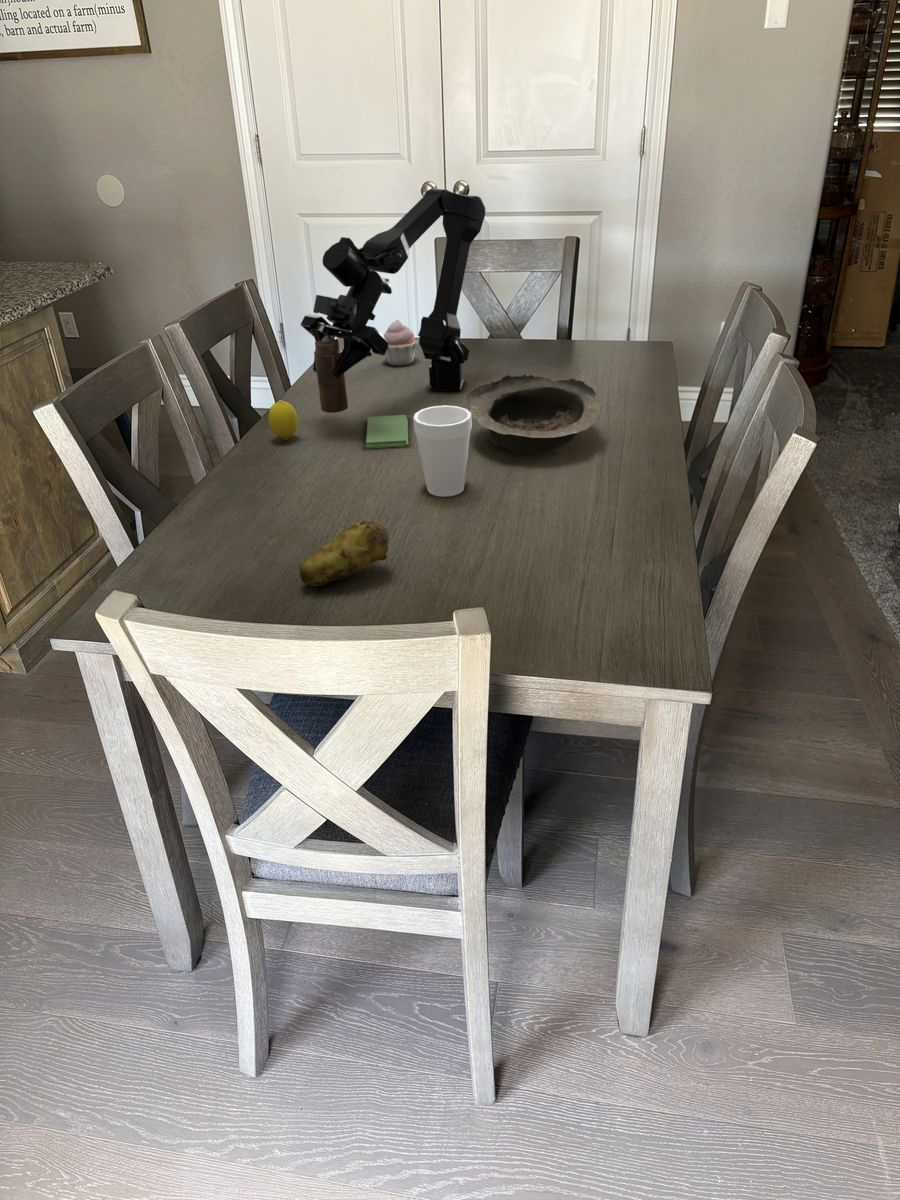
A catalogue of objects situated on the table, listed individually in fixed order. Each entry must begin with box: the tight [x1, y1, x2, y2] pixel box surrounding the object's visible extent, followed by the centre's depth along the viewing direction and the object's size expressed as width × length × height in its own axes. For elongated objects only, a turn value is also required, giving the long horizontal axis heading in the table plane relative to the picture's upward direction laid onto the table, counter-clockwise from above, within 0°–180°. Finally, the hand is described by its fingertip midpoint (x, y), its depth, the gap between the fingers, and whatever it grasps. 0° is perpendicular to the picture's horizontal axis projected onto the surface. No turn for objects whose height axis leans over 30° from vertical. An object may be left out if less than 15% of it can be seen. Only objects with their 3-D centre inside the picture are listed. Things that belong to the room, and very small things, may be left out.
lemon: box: [268, 399, 299, 441], centre depth 167 cm, size 6×6×8 cm
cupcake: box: [383, 319, 419, 367], centre depth 206 cm, size 9×9×10 cm
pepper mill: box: [313, 336, 349, 414], centre depth 164 cm, size 5×5×14 cm
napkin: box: [365, 414, 409, 450], centre depth 169 cm, size 8×14×1 cm, turn 3°
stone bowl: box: [465, 374, 602, 455], centre depth 162 cm, size 25×25×9 cm
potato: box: [298, 519, 390, 587], centre depth 122 cm, size 8×13×8 cm, turn 95°
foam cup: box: [412, 404, 473, 498], centre depth 144 cm, size 10×9×13 cm
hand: (324, 374), depth 163 cm, fingers closed on pepper mill, 5 cm apart
